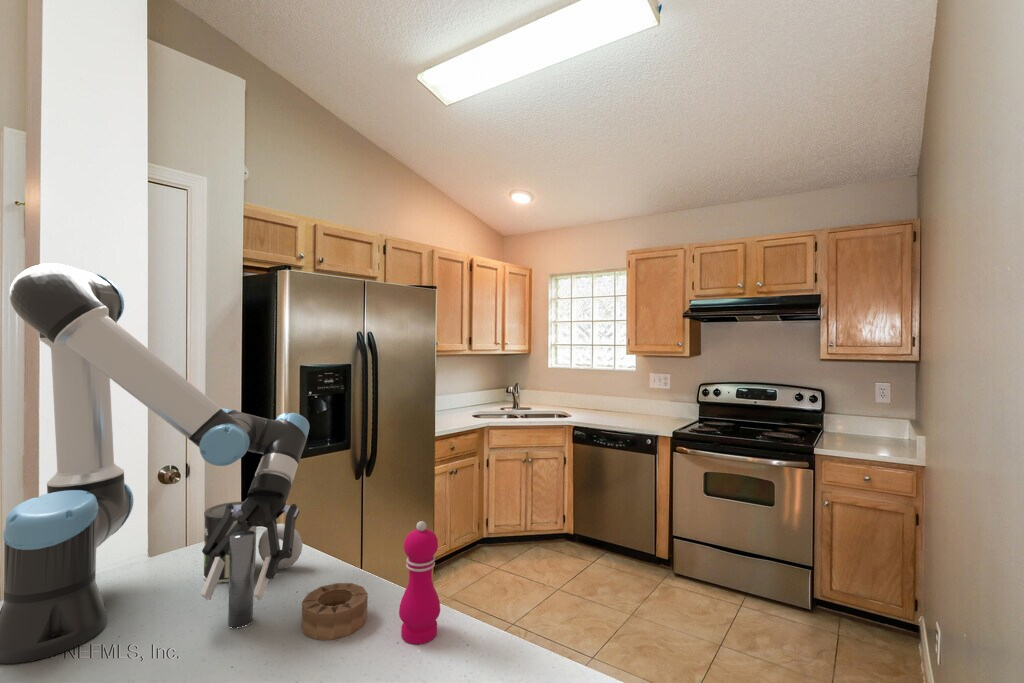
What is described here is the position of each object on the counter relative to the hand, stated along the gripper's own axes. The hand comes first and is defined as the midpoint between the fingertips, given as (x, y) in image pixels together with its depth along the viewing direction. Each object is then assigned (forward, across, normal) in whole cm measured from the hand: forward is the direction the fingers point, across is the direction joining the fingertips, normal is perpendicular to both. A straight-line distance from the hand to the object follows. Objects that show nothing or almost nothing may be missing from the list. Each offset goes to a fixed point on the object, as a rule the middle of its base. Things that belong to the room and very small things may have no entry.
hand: (231, 597), depth 88 cm
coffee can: (-12, +12, -21) cm, 27 cm away
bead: (+2, -17, -7) cm, 18 cm away
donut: (-13, +2, -22) cm, 26 cm away
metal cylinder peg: (+2, 0, -7) cm, 7 cm away
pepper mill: (+5, -33, -4) cm, 34 cm away
